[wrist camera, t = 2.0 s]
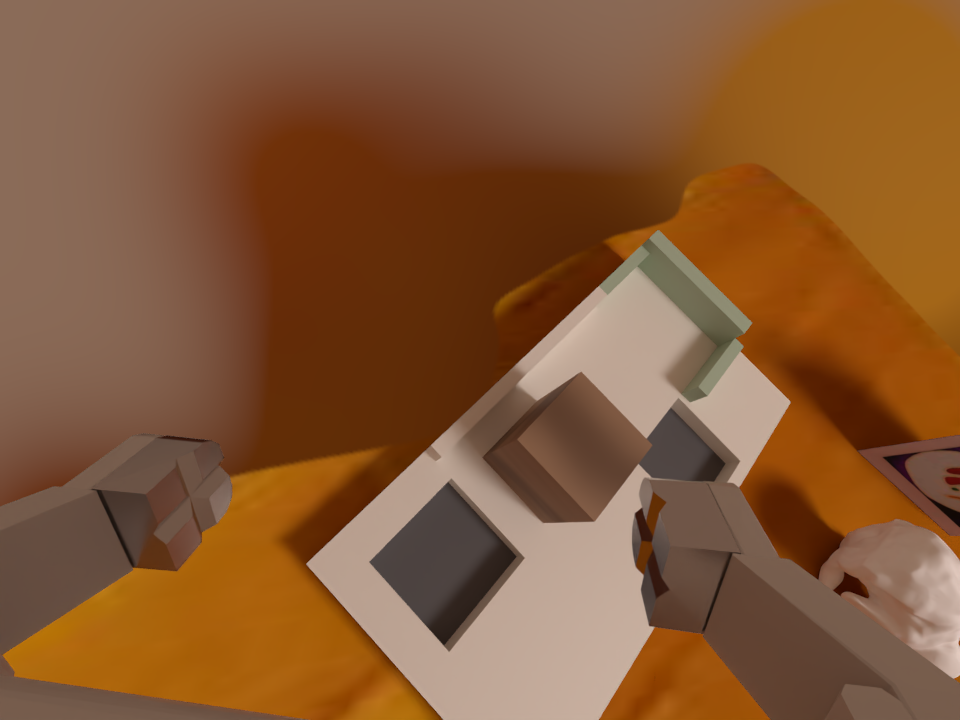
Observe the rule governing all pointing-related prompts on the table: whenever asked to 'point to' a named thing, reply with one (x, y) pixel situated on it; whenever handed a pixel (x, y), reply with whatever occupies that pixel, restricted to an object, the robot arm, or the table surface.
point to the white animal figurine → (904, 586)
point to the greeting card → (925, 476)
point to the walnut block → (569, 453)
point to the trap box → (552, 546)
